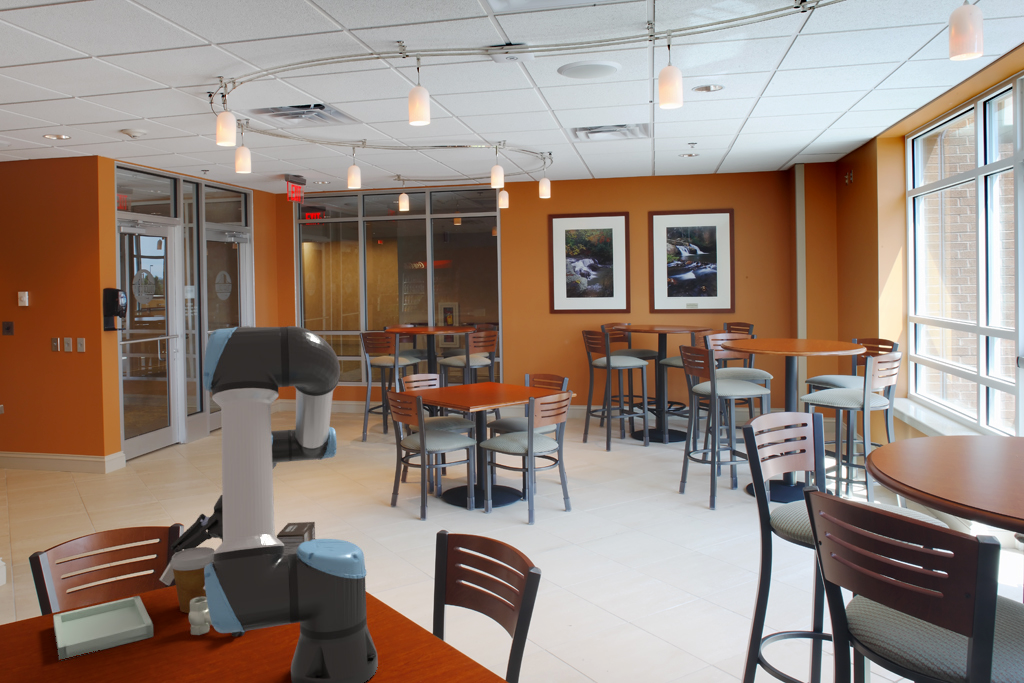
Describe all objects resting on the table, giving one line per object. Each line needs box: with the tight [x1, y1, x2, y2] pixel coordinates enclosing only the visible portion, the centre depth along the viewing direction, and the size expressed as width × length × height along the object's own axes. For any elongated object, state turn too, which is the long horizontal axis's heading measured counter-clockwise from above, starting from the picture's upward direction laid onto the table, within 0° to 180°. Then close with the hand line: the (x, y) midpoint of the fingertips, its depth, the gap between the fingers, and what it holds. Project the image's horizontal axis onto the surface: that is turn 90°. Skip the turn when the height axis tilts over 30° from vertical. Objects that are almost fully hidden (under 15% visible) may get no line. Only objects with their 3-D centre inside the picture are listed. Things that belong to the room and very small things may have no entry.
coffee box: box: [276, 521, 316, 555], centre depth 159 cm, size 9×6×16 cm
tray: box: [52, 595, 154, 661], centre depth 144 cm, size 18×16×2 cm
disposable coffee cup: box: [170, 546, 215, 614], centre depth 155 cm, size 10×10×12 cm
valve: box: [188, 597, 245, 637], centre depth 142 cm, size 7×7×12 cm
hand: (185, 587), depth 153 cm, fingers open, 12 cm apart
